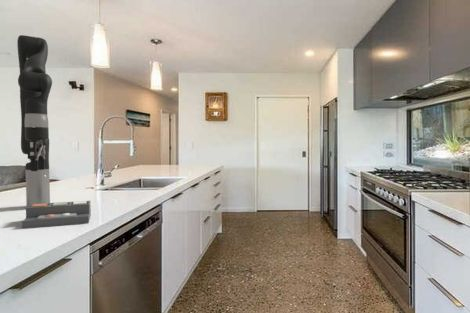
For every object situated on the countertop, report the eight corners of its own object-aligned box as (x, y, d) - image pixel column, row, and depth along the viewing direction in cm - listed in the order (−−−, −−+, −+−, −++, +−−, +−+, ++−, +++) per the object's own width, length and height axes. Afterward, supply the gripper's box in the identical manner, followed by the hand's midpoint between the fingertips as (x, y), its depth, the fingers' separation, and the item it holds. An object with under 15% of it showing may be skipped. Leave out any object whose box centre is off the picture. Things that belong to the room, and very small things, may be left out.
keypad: (31, 219, 123) (31, 203, 123) (90, 214, 130) (90, 200, 130) (22, 228, 110) (22, 210, 110) (88, 223, 117) (88, 206, 117)
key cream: (74, 206, 126) (73, 201, 125) (86, 206, 127) (86, 201, 127) (72, 209, 121) (72, 203, 121) (86, 208, 123) (86, 203, 123)
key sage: (54, 208, 123) (54, 202, 123) (67, 207, 125) (67, 202, 125) (52, 210, 119) (52, 205, 119) (66, 209, 120) (66, 204, 120)
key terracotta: (33, 209, 121) (33, 204, 121) (47, 208, 122) (47, 203, 122) (30, 211, 116) (30, 206, 116) (45, 210, 118) (45, 205, 118)
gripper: (31, 128, 125) (32, 169, 125) (18, 125, 111) (19, 172, 111) (52, 128, 127) (53, 169, 127) (42, 125, 113) (44, 171, 114)
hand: (37, 170), depth 119 cm, fingers open, 8 cm apart
